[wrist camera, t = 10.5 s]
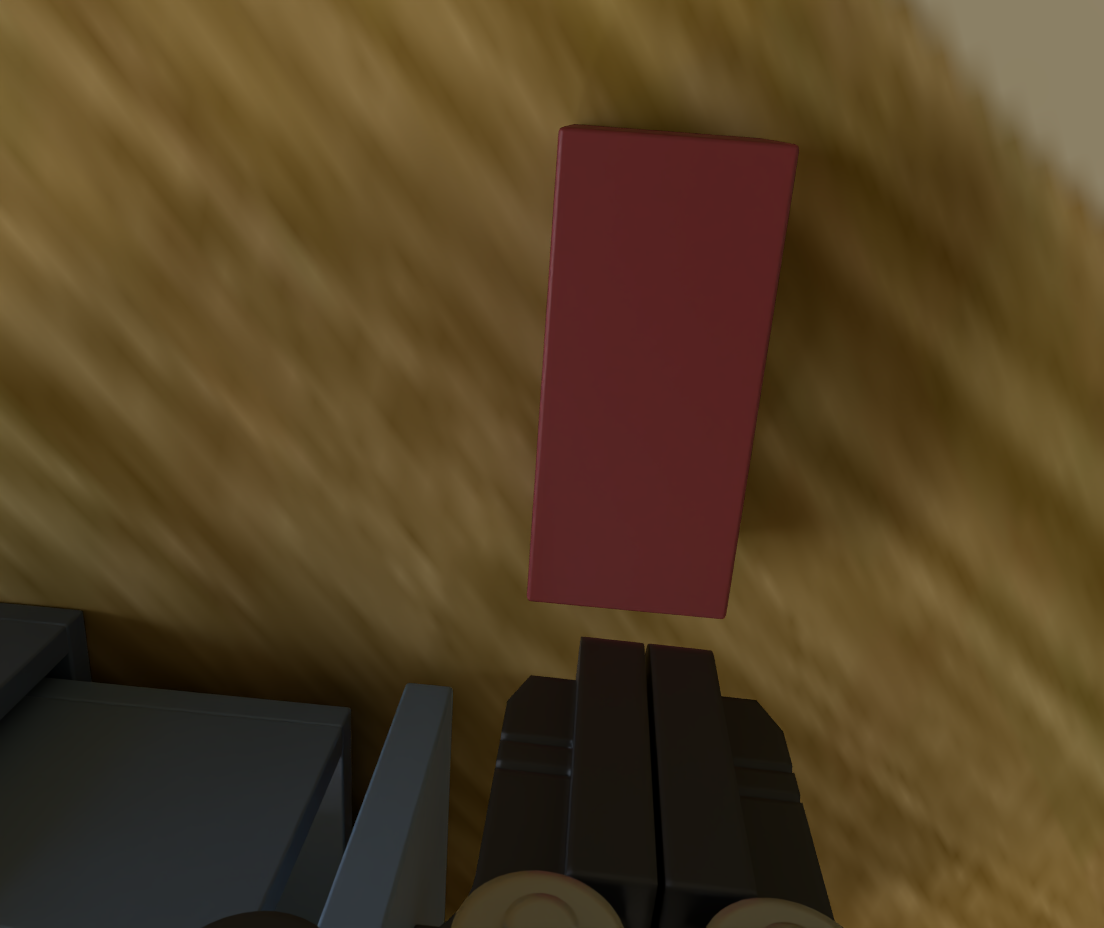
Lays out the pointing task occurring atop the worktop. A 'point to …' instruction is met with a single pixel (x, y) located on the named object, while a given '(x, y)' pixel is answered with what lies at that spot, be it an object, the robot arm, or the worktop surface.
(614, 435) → the red rectangular box
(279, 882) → the drawer
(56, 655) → the cabinet
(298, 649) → the worktop surface
